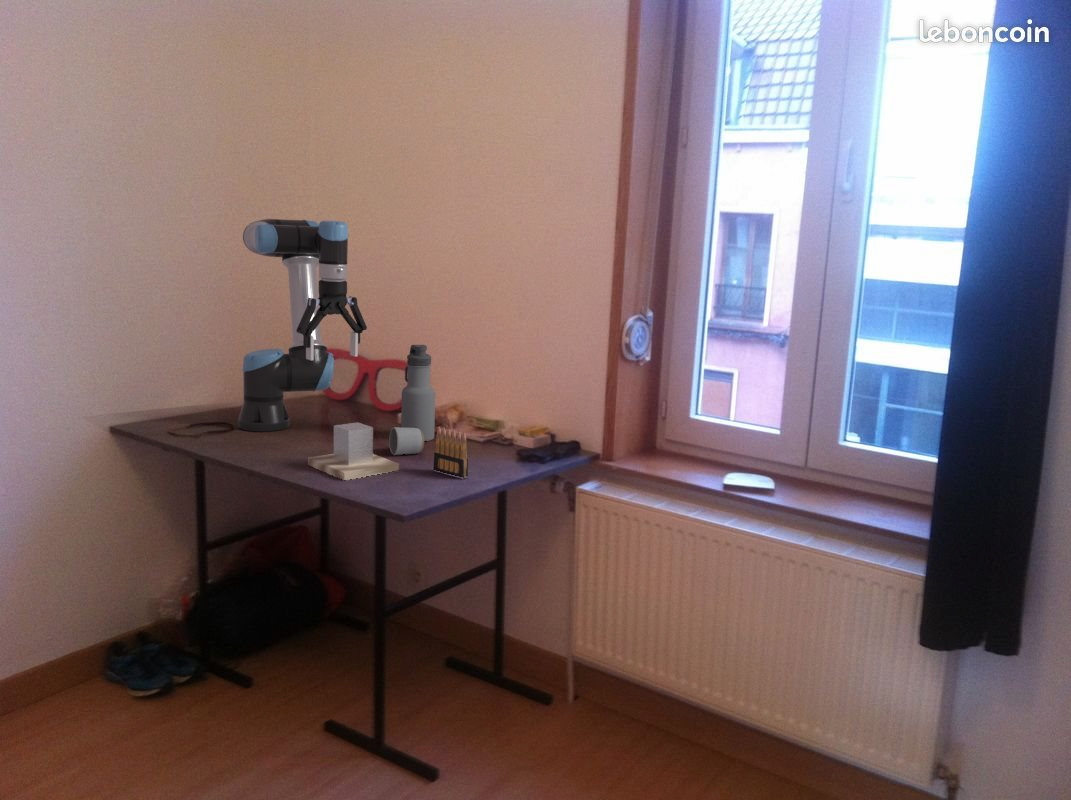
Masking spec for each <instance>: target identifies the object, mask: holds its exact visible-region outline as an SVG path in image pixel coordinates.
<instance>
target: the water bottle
mask: <svg viewBox="0 0 1071 800" xmlns="http://www.w3.org/2000/svg"><path fill="white" fill-rule="evenodd" d="M427 350H428V347H427V345H425V344H411V345H410V348H409V354H407V356H406V357H407V363H406V366H405V368H404V380H405V382H406V383H407V384H406V386H405V387H403V389H402V390H401V419H400V420H401V421H400V423H401V425H400V428H418V429H420V430H421V431H422V433H423V436H424V441H427V442H430V441H432V440H434V438H435V424H436V423H435V421H436V420H435V419H436V417H435V416H436V391H435V389H434V388H433V387H432V386H431V367H432V355H431V354H428V353H427V352H426V351H427Z"/></svg>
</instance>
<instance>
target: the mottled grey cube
mask: <svg viewBox="0 0 1071 800" xmlns="http://www.w3.org/2000/svg"><path fill="white" fill-rule="evenodd" d="M333 454H334V460H336V461H339V462H341V463H344V464H346V465H348V466H349V465H355V464H361V463H367V462H373V454H374V427H373V426H370V425H367V424H363V423H361V422H352V423H351V422H349V423H343V424H335V425H333Z"/></svg>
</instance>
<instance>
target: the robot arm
mask: <svg viewBox="0 0 1071 800" xmlns="http://www.w3.org/2000/svg"><path fill="white" fill-rule="evenodd" d="M348 229H349V228H348V223H346V222H345V221H341V220H340V221H338V220H337V221H336V220H322V221H320V222H317V221H314V220H308V219H307V220H306V219H284V218H283V219H279V218H276V219H275V218H265V219H259V220H255V221H252V222H251V223H249V224H247V226H246V227H245V228H244V230H243V232H242V233H243V234H242V240H243V243H244V246H245V247H246V248H247V249H248V250H249V251H250V252H251V253H254V254H256V255H259V256H264V257H271V258H281V259H282V260H281V262H282V265H283V266H284V267H285V268H287V274H288V288H289V301H290V302H289V303H290V315H291V317H290V318H291V332H292V344H291V345H290V346H289V347H288V353H285V352H284V350H283V349H282V348H266V349H259V350H258V349H257V350H255V351H250V352H248V353H246V354H245V355H244V357H243V360H242V369H241V370H242V375H243V381H242V384H243V385H242V386H243V389H242V391H243V403H242V406H241V409H240V412H239V415H238V418H237V428H238V429H241V430H244V431H249V432H274V431H281V430H285V429H289V427H290V425H291V424H290V417H289V413H288V410H287V408H286V404H285V401H284V393H287V392H290V393H291V392H293V393H294V392H317V391H325V390H327V389H329V388H330V386H331V385H332V381H333V377H334V368H335V359H334V354H333V353H332V352H329V351H328V346H327V345H326V344H325V343H323V342H322V331H321V322H322V320H323V319H324V318H325V317H327V315H328V316H332V315H340V316H341V317H342V318H343V320H344V321H346V323H347V324H348V326H349V328H350V329H351V330H352V331H350V332H349V333H350V334H349V336H350V339H349V340H350V342H349V343H350V344H349V345H350V346H349V347H350V348H349V349H350V350H349V355H350V356H351V357H352V356H353V357H359V355H358V354H359V353H358V352H359V351H358V350H359V344H360V343H361V334H362V333H363V332H364V331H367V329H368V327H367V324H366V322H365V319H364V317H363V315H362V313H361V310H360V308H359V306H358V298H357V297H356V296H352V295H350V296H348V297H347V294H348V281H347V280H346V279H348V246H349V245H348V243H349V242H348V241H349V231H348ZM317 267H318V276H317ZM318 278H319V280H318ZM347 305H348V306H349V308H350V311H348V309H347V308H346V306H347ZM349 312H351V313H352V316H351V314H350V313H349Z"/></svg>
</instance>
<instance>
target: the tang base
mask: <svg viewBox="0 0 1071 800" xmlns="http://www.w3.org/2000/svg"><path fill="white" fill-rule="evenodd" d="M307 465H308V466H310V467H312V468H314V469H316V470H318V469H319V470H318V471H321V472H323V473H325V472H326V474H327V475H330V476H332V475H333V477H334V478H337V477H338V479H339V478H340V479H339V480H341V479H342V481H344V480H346V481H350V479H352V480H357V479H356V478H358V479H362V478H361V477H363V478H366V476H369V477H372V476H371V475H375V476H378V475H377V474H380V475H383V474H382V473H386V474H389V473H388V472H392V471H397V470H399V471H400V463H399V462H396V461H392V459H391V460H390V459H388V458H385V457H383V456H379V455H377V454H374V453H373V462H367V463H361V464H355V465H349V466H348V465H346V464H344V463H341V462H339V461H336V460H334V453H330V454H329V453H328V454H324V455H323V454H322V455H316V456H309V457H307ZM397 472H398V471H397ZM392 473H393V472H392Z"/></svg>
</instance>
